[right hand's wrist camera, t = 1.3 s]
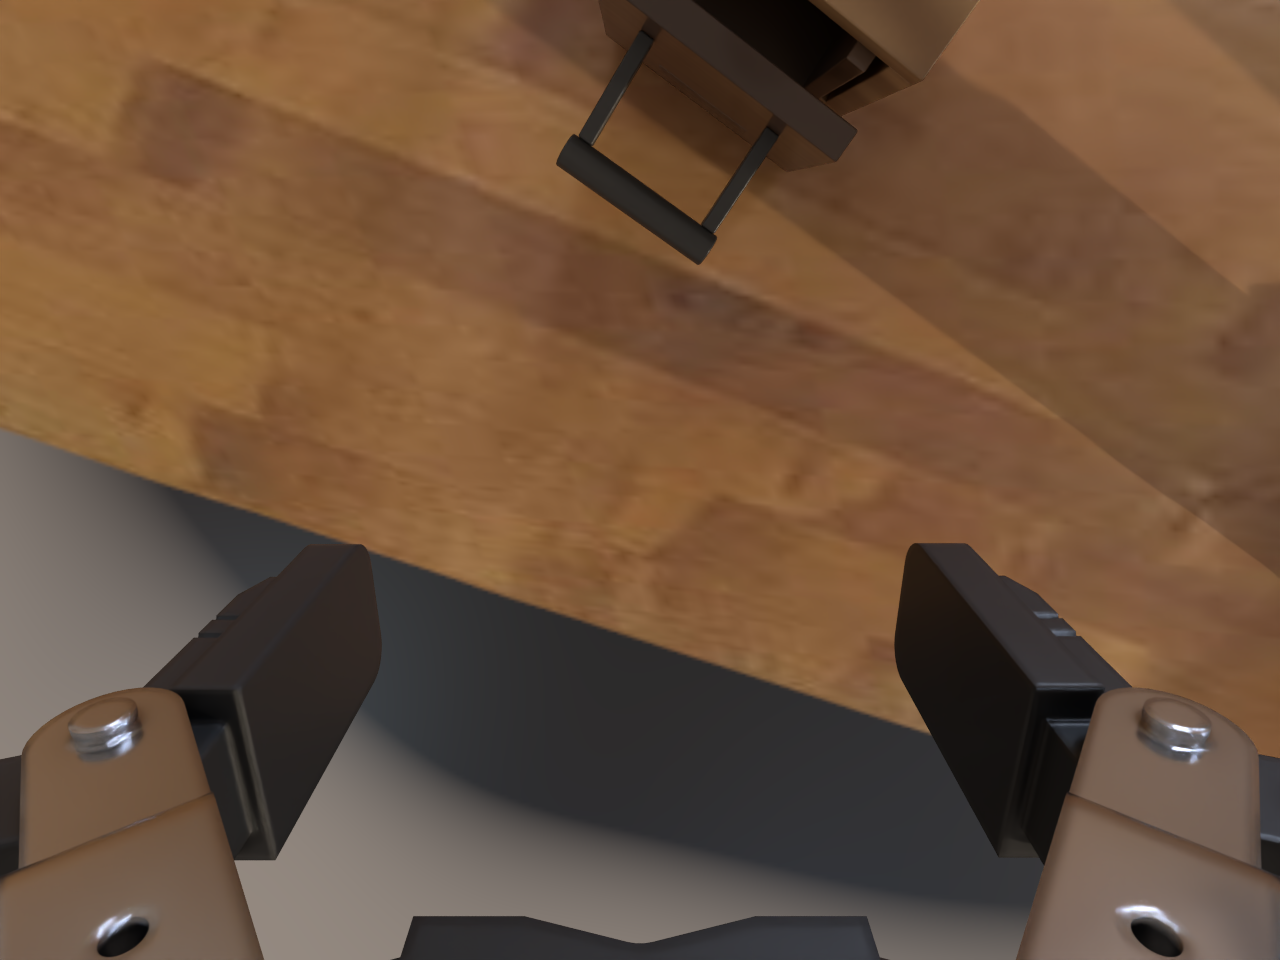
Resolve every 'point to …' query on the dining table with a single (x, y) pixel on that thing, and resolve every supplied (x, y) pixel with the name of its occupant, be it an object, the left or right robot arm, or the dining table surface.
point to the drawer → (724, 95)
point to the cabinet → (893, 43)
